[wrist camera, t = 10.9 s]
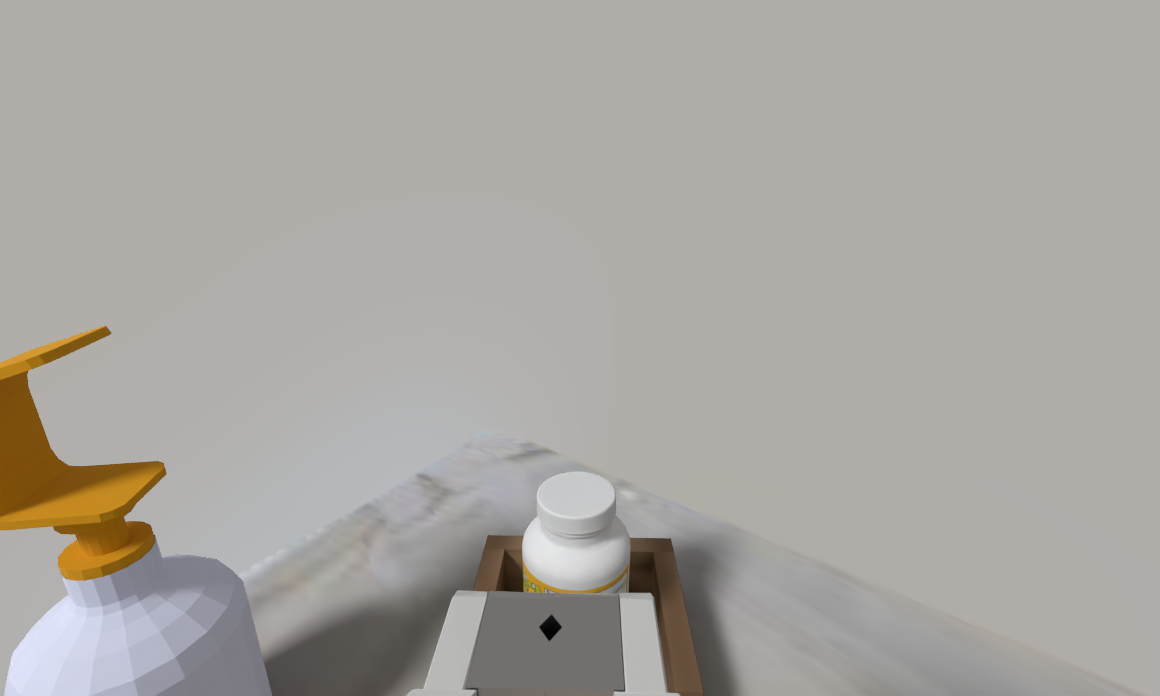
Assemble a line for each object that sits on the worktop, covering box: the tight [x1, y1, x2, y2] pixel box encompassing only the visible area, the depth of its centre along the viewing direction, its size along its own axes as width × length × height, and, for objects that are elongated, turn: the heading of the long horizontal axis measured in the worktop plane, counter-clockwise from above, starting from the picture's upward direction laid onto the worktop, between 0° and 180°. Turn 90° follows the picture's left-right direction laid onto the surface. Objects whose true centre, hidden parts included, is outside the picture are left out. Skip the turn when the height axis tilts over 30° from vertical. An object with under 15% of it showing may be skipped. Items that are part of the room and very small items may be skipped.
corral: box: [473, 535, 703, 696], centre depth 36 cm, size 14×12×4 cm
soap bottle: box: [0, 326, 272, 696], centre depth 25 cm, size 9×9×25 cm
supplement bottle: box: [522, 472, 631, 595], centre depth 34 cm, size 7×7×13 cm
